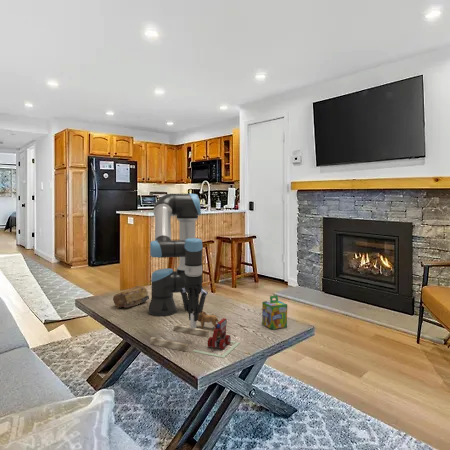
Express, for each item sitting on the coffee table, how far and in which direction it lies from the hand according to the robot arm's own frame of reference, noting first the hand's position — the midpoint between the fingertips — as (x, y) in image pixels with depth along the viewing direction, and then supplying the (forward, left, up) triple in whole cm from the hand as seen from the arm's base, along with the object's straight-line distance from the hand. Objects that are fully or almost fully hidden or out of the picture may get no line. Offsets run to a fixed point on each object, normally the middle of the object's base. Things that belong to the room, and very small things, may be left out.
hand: (193, 327), depth 156 cm
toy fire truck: (+12, +1, -6) cm, 14 cm away
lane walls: (-6, -1, -6) cm, 9 cm away
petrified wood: (-61, +31, -6) cm, 68 cm away
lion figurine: (-2, +16, -6) cm, 18 cm away
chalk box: (+26, +34, -6) cm, 43 cm away
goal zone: (+11, -1, -6) cm, 13 cm away
